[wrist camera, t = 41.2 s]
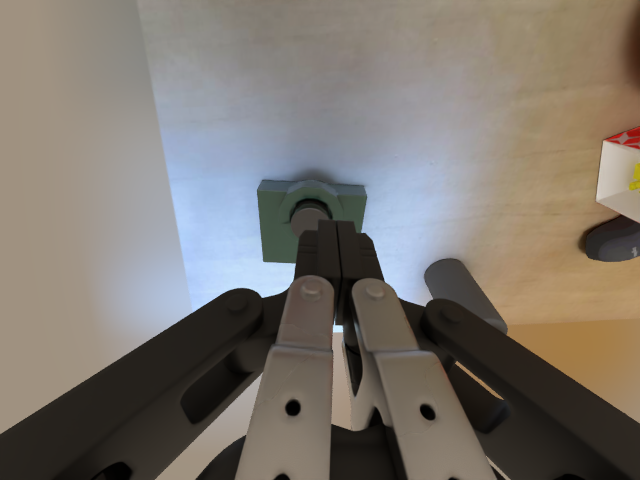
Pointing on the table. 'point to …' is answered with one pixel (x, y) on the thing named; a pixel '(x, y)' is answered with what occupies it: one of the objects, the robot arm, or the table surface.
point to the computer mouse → (614, 241)
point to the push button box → (284, 197)
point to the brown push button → (308, 216)
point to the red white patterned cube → (621, 174)
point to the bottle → (462, 291)
